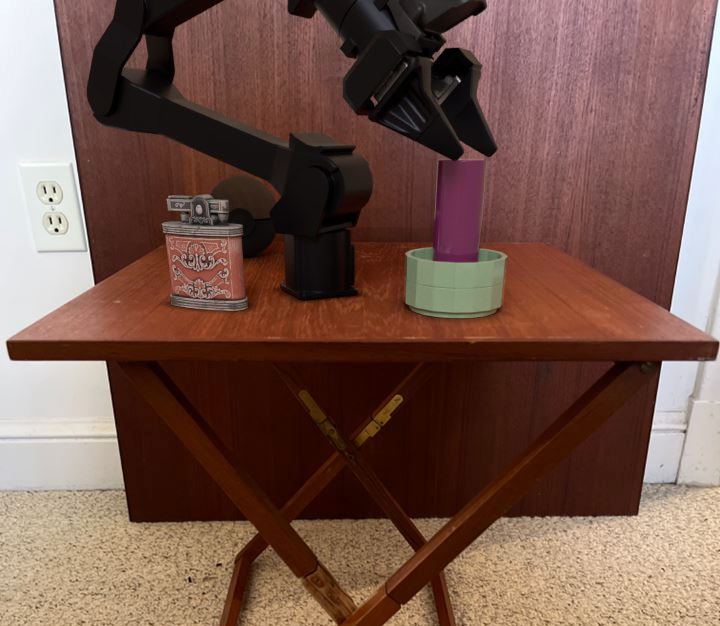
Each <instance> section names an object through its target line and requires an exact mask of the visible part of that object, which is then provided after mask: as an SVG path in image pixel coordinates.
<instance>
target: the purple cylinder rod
mask: <svg viewBox="0 0 720 626" xmlns="http://www.w3.org/2000/svg"><path fill="white" fill-rule="evenodd" d="M487 166H488V160H487V159H485V158H464V157H463V158H461V157H460V158H459V159H458V160H457V161H453V160H451V159H449V158H447V157H446V158H437V159H436V169H435V170H436V171H435V172H436V173H435V190H434V212H433V231H432V232H433V234H432V247H433V250H432V260H433V261H444V262H479V255H480V248H481V244H482V243H481V241H482V228H483V216H484V204H485V193H486V192H485V191H486V178H487Z"/></svg>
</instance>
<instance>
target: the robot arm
mask: <svg viewBox="0 0 720 626" xmlns="http://www.w3.org/2000/svg"><path fill="white" fill-rule="evenodd" d="M224 1H225V0H116V2H115V5H114V6H115V7H114V11H113V17H112V20H111V21H110V23H109V24H108V26H107V27H106V29H105V30H104V32H103V34H102V35H101V36H100V38H99V40H98V42H97V43H96V44H95V46H94V48H93V52H92V57H91V62H90V68H89V74H88V79H87V84H86V94H85V95H86V98H87V103H88V105H89V107H90V109H91V112H92V117H93V119H95V120H96V122H97V123H98V124H100V125H101V126H103V127H106V128H111V129H116V130H121V131H127V132H133V133H141V134H150V135H159V136H162V137H165V138H167V139H168V140H171V141H174V142H176V143H178V144H181V145H182V146H185V147H188V148H189V149H192V150H194V151H197V152H199V153H201V154H204V155H206V156H208V157H210V158H213V159H216V160H218V161H219V162H222V163H225V164H227V165H229V166H231V167H233V168H236V169H238V170H241V171H243V172H245V173H247V174H250V175H252V176H254V177H256V178H259V179H261V180H263V181H265V182H267V183H269V184H270V185H271V186H272V187H273V189H274V190H275V191H276V192H277V193H278V195H279V196H280V198H279V199H278V200H277V201H276V204H275V205H274V207H273V208H272V209H271V210H270V217H271V220H272V223H273V226H274V229H275V232H276V233H277V234H278V235H283V256H284V257H283V258H284V277H285V278H284V279H285V280H284V281H285V282H281V283H279V289H281V290H283V291H285V292H286V293H288V294H290V295H292V296H293V297H296V298H298V299H299V300H300V299H301V300H309V299H319V298H320V299H321V298H331V297H338V296H339V297H340V296H349V295H357V294H359V288H357V287H354V286H355V285H356V246H355V245H354V243H352V230H351V229H349V228H356V227H357V225H358V221H359V218H360V216H361V213H362V209H364V208H365V207H366V206H367V204H368V203H369V202H370V200H371V197H372V194H373V189H374V179H373V178H374V177H373V173H372V170H371V168H370V164H369V161H367V160H366V158H365V157H363V156H362V155H361V154H360V153H357V152H354V151H355V150H356V148H357V145H356V144H344V143H341V142H339V141H337V140H336V139H334V138H332V137H331V136H330V135H328V134H325V133H324V132H290V133H289V138H288V139H289V140H286V139H284V138H281V137H278V136H276V135H274V134H272V133H269V132H266V131H264V130H262V129H259V128H257V127H254V126H252V125H249V124H247V123H245V122H243V121H240V120H238V119H235V118H232V117H230V116H228V115H226V114H224V113H221V112H218V111H216V110H214V109H211V108H209V107H207V106H204V105H201V104H199V103H197V102H194V101H192V100H190V99H188V98H186V97H184V95H183V94H182V93H181V92H180V90H179V89H178V88H177V86H176V84H174V79H175V75H176V64H175V56H174V46H173V39H174V36H175V31H176V28H177V27H179V26H181V25H183V24H184V23H186V22H188V21H190V20H192V19H193V18H195V17H197V16H199V15H200V14H202V13H204V12H206V11H208V10H209V9H212V8H213V7H215V6H217V5H219V4H220V3H222V2H224ZM487 8H488V4H487V1H486V0H287V10H286V11H287V13H288V14H289V15H290V16H295V17H299V18H302V19H303V18H304V19H307V20H311V19H312V18H313V17H314V16H315V14H316V13H317V11H318V12H319V13H320V14H321V16H322V17H323V18H324V19H325V21H326V22H327V23H328V25H329V26H330V27H331V28H332V29H333V31H334V32H335V33H336V35H337V36H338V37H339V38H340V39H341V41H342V44H341V45H340V47H339V50H340V51H341V52H342V53H343V55H344V56H345V57H346V58H347V59H353V60H355V61H354V62H353V64H352V65H351V67H350V68H349V69H348V71H347V72H346V74H344V76H343V78H342V99H343V100H344V101H345V102H346V104H347V105H348V106H349V107H350V109H351V110H352V111H353V112H354V113H355V115H356V116H357V117H360V116H361V117H367V119H368V120H369V121H370V122H372V123H375V124H378V125H379V126H382V127H384V128H386V129H388V130H390V131H393V132H395V133H397V134H399V135H401V136H403V137H405V138H407V139H409V140H411V141H413V142H415V143H417V144H420V145H421V146H423V147H425V148H427V149H429V150H431V151H434V152H435V153H437V154H439V155H442V156H443V157H444V158H446V159H447V158H449V159H451V160H453V161H457V160H458V159H459V158H461V157H463V155H464V154H465V147H463V144H464V145H466V146H468V147H469V148H471V149H472V150H474V151H476V152H478V154H479V153H480V154H481V155H483V156H484V157H486V158H492V157H493V156H494V155H495V154H496V153H497V152H498V150H499V149H498V148H499V147H498V145H497V142H496V140H495V138H494V135H493V133H492V131H491V128H490V126H489V124H488V121H487V119H486V116H485V115H484V111H483V110H482V108H481V104H480V101H479V99H478V87H479V81H480V80H481V79H482V68H483V64H482V63H481V62H480V61H479V59H478V58H477V57H476V55H475V54H474V53H473V51H471V50H469V49H466V48H463V47H445V48H444V49H443V50H442V47H443V46H444V45H445V44H446V43H447V38H445V37H444V35H443V34H445V33H447V32H448V31H450V30H452V29H453V28H455V27H457V26H458V25H460V24H461V23H463V22H465V21H466V20H468V19H469V18H471V17H477V16H479V15H481V14H482V13H484V11H486V9H487ZM143 36H144V37H145V45H146V51H147V52H146V53H147V60H146V64H145V68H140V67H129V66H126V64H127V63H128V61H129V60H130V58H131V57H132V55H133V54H134V52H135V50H136V49H137V48H138V46H139V45H140V43H141V41H142V39H143ZM440 50H442V51H441V52H440V54H439V55H438V56H437V58H436V59H435V58H434V57H433V56H434V54H436V53H439V51H440ZM372 98H373V99H374V100H375V101H376V102H377V103H376V104H375V103H374V101H373V99H372ZM277 234H276V235H277Z"/></svg>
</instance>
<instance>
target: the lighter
mask: <svg viewBox="0 0 720 626" xmlns="http://www.w3.org/2000/svg"><path fill="white" fill-rule="evenodd" d="M166 206H167V211H175V212H178V211H179V212H181V213H180V220H181V221H180V220H178V221H177V220H175V221H174V220H173V221H165V222H161V228H162V233H164V237H165V244H166V245H165V246H166V253H167V260H168V261H167V262H168V269H169V270H168V271H169V280H170V281H169V282H170V288H171V293H170V294H169V296H170V304H171V305H172V306H176V307H183V308H190V309H198V310H212V311H230V312H231V311H232V312H233V311H242V310H246V309H248V308H249V300H248V296H246V282H245V268H244V257H243V252H242V237H241V235H242V234H243V225H240V224H230V223H228V221H227V220H228V216H229V215H228V212H229V201H228V200H214V199H213V197H212V196H211V195H210V193H208V194H207V193H205V194H198V195H194V197H193V195H168V197H167V198H166Z"/></svg>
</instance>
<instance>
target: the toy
mask: <svg viewBox="0 0 720 626" xmlns="http://www.w3.org/2000/svg"><path fill="white" fill-rule="evenodd" d="M209 195H211V196H212V197H213V199H214V200H228V201H229V212H228V215H229V216H228V220H227V221H228V223H230V224H240V225H243V234H242V235H241V237H242V252H243V258H247V257H254V256H256V255H260V254H261V253H263V252H264V251H265V250H267V249H268V248H269V247H270V246H271V245H272V243H273V242H274V241H275V238H276V236H277V233H276V232H275V229H274V226H273V223H272V220H271V217H270V210H271V209H272V208H273V207H274V205H275V204H276V203H277V200H276V199H275V196H274V194H273V193H272V191H271V190H270V189H269V188H268V187H267V186H266V185H265V184H264V183H263V182H261V181H260V180H259V179H257V178H255V177H252V176H249V175H242V174H240V175H239V174H238V175H232V176H229V177H226V178H224V179H222V180H221V181H219V182H218V183H217V184H216V185H215V186H214V188H213V189H212V190H211V191H210V193H209Z"/></svg>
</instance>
